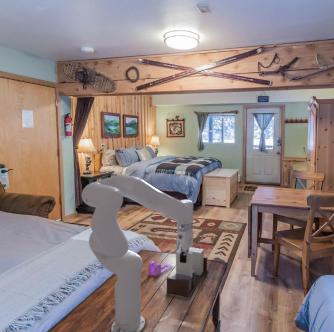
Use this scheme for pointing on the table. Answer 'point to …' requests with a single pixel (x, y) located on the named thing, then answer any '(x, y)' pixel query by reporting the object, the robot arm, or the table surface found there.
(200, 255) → the white books
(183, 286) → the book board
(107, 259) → the robot arm
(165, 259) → the table surface
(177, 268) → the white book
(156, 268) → the bracket
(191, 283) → the grey books
